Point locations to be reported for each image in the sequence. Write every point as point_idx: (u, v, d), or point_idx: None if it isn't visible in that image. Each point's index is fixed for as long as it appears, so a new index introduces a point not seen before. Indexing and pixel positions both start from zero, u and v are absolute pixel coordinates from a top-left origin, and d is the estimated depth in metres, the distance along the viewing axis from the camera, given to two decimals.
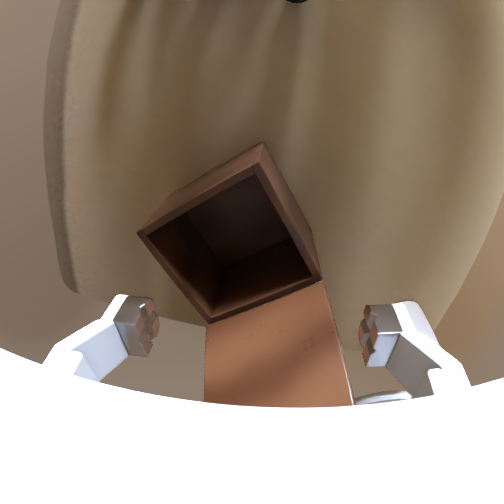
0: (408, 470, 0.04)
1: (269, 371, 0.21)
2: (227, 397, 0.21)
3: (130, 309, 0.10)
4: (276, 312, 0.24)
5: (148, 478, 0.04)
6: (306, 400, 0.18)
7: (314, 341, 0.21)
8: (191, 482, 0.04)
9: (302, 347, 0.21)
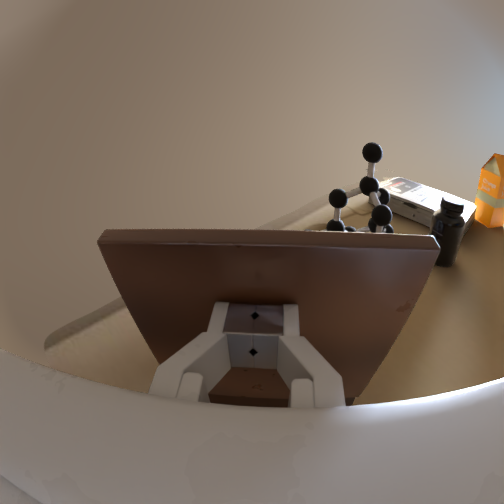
0: (408, 470, 0.04)
1: None
2: None
3: (240, 317, 0.09)
4: None
5: (148, 478, 0.04)
6: None
7: None
8: (191, 482, 0.04)
9: None
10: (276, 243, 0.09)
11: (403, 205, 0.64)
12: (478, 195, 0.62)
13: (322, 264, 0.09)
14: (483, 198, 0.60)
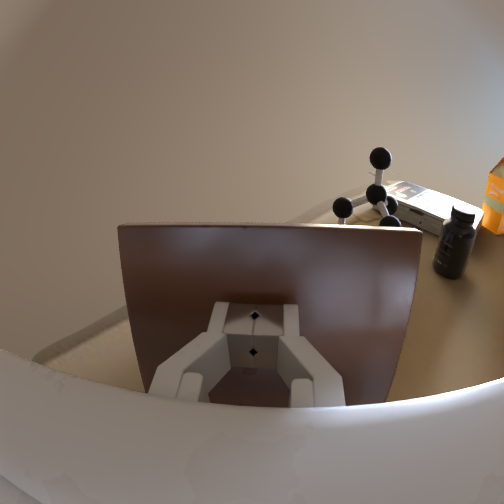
0: (408, 470, 0.04)
1: None
2: None
3: (240, 317, 0.09)
4: None
5: (148, 479, 0.04)
6: None
7: None
8: (192, 482, 0.04)
9: None
10: (277, 226, 0.10)
11: (409, 211, 0.60)
12: (486, 201, 0.58)
13: (318, 248, 0.10)
14: (491, 204, 0.56)
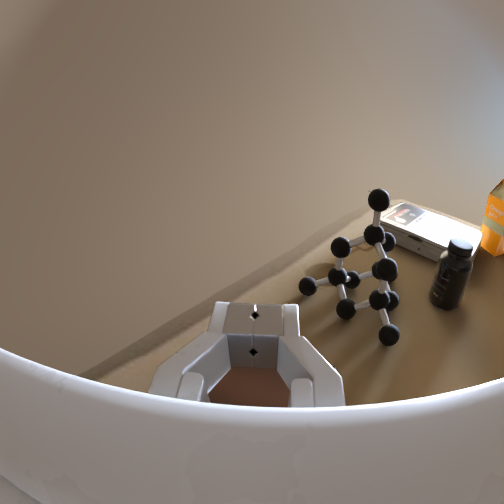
0: (408, 470, 0.04)
1: None
2: None
3: (240, 317, 0.09)
4: None
5: (148, 479, 0.04)
6: None
7: None
8: (192, 482, 0.04)
9: None
10: None
11: (407, 238, 0.61)
12: (485, 222, 0.59)
13: None
14: (490, 225, 0.57)
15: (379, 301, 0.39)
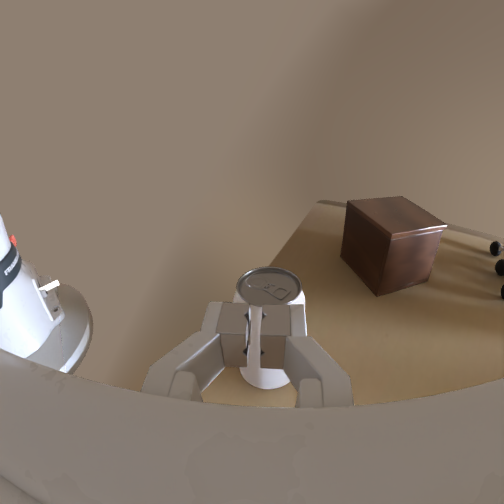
0: (408, 470, 0.04)
1: None
2: None
3: (233, 317, 0.10)
4: None
5: (148, 479, 0.04)
6: None
7: None
8: (192, 482, 0.04)
9: None
10: (424, 210, 0.42)
11: None
12: None
13: (427, 213, 0.41)
14: None
15: None
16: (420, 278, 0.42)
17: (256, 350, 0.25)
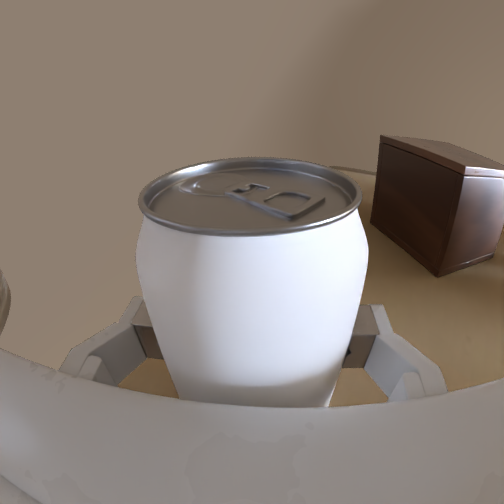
0: (408, 470, 0.04)
1: None
2: None
3: None
4: None
5: (148, 479, 0.04)
6: None
7: None
8: (192, 482, 0.04)
9: None
10: (483, 156, 0.25)
11: None
12: None
13: (489, 159, 0.23)
14: None
15: None
16: (487, 252, 0.24)
17: (210, 402, 0.07)
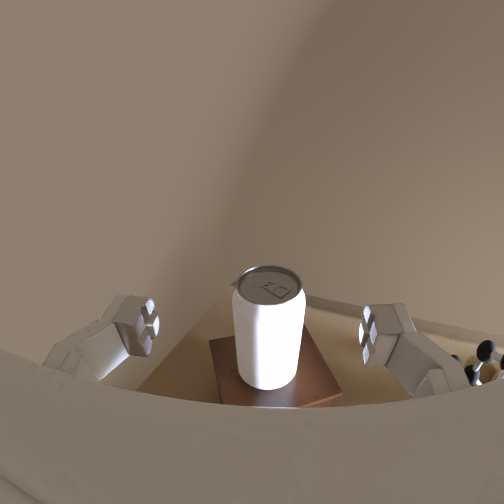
0: (408, 470, 0.04)
1: None
2: None
3: (130, 309, 0.10)
4: None
5: (148, 478, 0.04)
6: None
7: None
8: (191, 482, 0.04)
9: None
10: None
11: None
12: None
13: (321, 366, 0.31)
14: None
15: None
16: None
17: (255, 350, 0.25)
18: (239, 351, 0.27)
